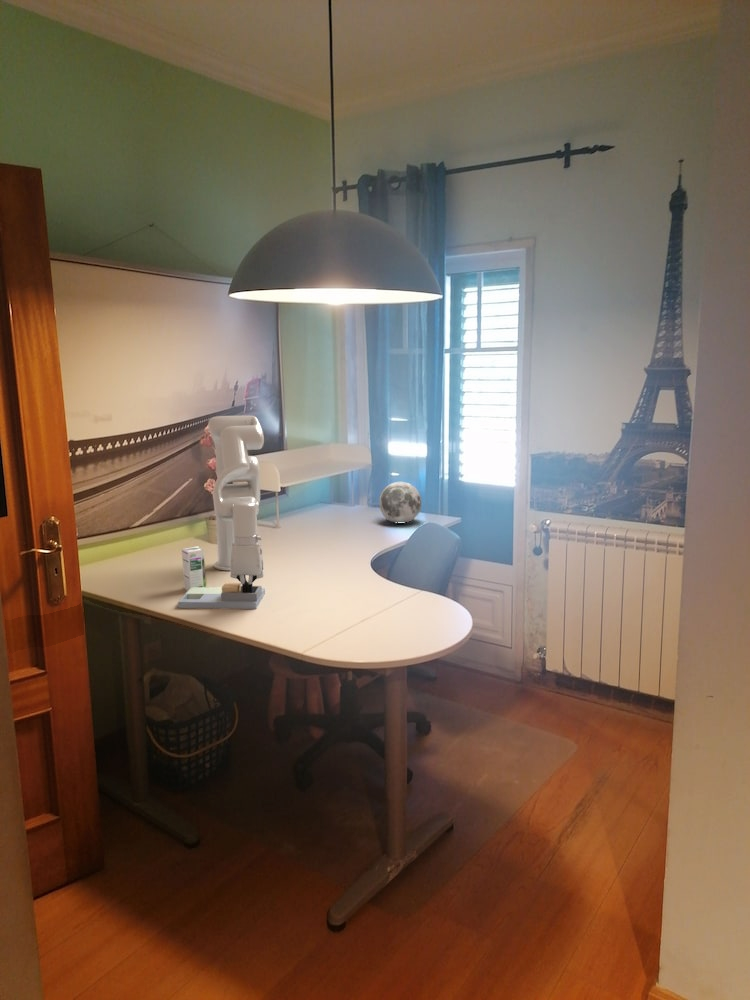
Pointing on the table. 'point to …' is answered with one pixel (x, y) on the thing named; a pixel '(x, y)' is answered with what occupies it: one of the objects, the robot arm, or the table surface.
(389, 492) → the moon model
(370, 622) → the table surface
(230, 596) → the grey sorting tray
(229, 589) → the block
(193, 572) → the syrup box
